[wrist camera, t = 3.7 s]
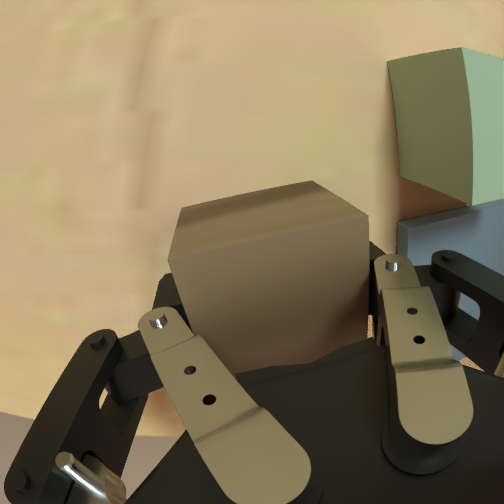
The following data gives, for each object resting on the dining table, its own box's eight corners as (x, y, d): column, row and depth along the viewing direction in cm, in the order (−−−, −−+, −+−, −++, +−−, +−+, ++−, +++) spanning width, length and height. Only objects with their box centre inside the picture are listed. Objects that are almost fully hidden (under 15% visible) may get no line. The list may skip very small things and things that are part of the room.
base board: (397, 221, 14) (408, 228, 13) (523, 193, 15) (533, 197, 14) (382, 383, 19) (388, 392, 18) (495, 329, 20) (501, 335, 19)
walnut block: (181, 207, 12) (167, 259, 8) (311, 180, 13) (368, 215, 8) (212, 317, 15) (218, 396, 10) (322, 291, 15) (365, 357, 10)
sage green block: (385, 61, 11) (461, 47, 6) (464, 70, 11) (535, 70, 7) (398, 175, 13) (472, 205, 9) (472, 166, 13) (539, 190, 9)
